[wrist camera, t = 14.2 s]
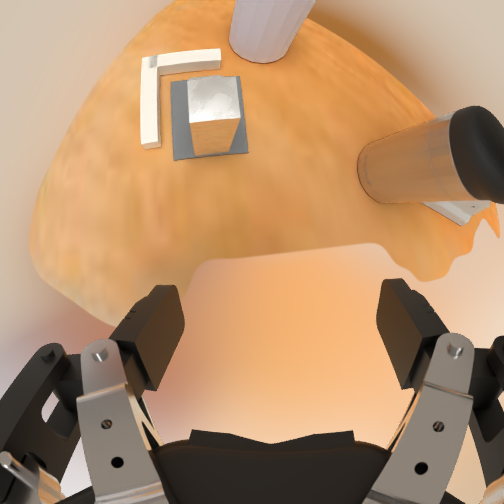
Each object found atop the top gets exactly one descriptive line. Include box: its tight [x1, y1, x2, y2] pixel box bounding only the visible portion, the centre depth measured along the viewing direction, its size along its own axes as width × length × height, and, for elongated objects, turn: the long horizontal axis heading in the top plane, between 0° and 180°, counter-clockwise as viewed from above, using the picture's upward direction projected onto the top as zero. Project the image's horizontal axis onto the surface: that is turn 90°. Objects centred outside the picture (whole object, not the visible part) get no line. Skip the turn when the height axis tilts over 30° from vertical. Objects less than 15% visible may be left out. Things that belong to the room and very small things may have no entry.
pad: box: [171, 76, 248, 160], centre depth 31 cm, size 9×11×1 cm
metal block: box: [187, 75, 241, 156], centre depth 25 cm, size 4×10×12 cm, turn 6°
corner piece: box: [141, 49, 221, 149], centre depth 29 cm, size 10×12×2 cm
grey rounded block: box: [421, 200, 491, 226], centre depth 34 cm, size 17×5×10 cm, turn 74°
